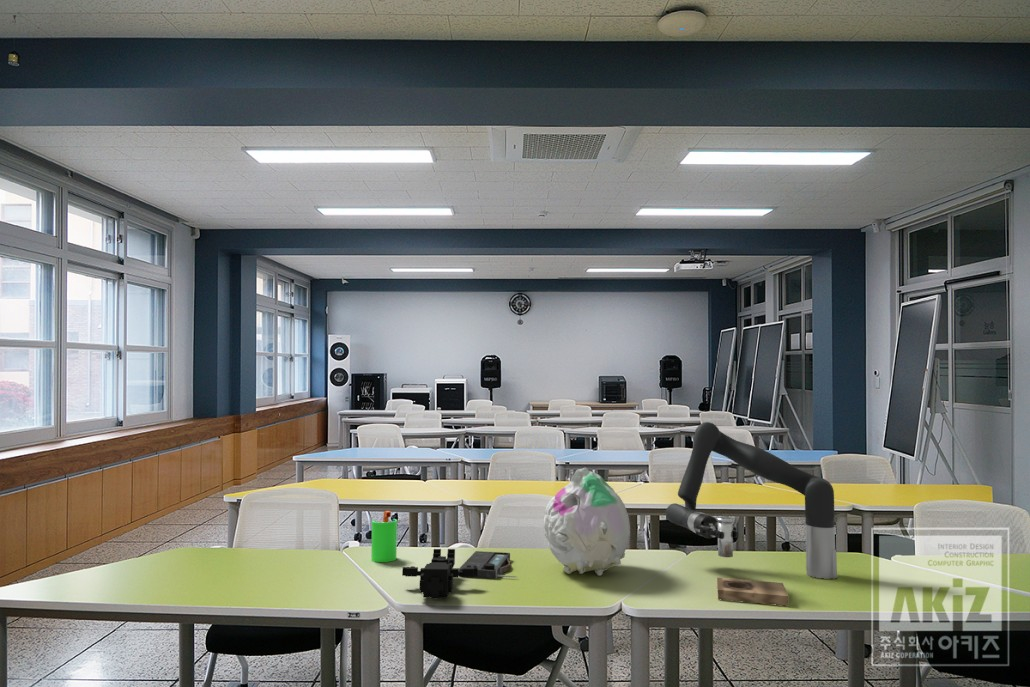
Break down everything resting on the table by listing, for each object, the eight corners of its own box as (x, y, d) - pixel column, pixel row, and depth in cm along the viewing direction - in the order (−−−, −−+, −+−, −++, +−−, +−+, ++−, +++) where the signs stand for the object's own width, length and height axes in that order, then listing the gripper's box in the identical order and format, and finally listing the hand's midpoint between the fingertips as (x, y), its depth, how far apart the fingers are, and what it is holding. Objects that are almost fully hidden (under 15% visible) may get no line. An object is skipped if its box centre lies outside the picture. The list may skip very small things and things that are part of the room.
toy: (479, 549, 226) (475, 566, 196) (479, 578, 225) (475, 599, 195) (409, 548, 226) (394, 565, 196) (408, 577, 224) (393, 599, 195)
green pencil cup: (389, 555, 251) (390, 507, 252) (401, 559, 245) (402, 510, 247) (368, 559, 245) (369, 510, 246) (379, 563, 239) (380, 513, 240)
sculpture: (546, 595, 220) (632, 577, 211) (517, 486, 226) (600, 465, 217) (572, 570, 251) (648, 554, 242) (546, 475, 257) (620, 456, 248)
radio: (475, 547, 249) (528, 550, 246) (475, 559, 249) (528, 562, 245) (458, 565, 224) (516, 568, 221) (458, 578, 224) (516, 581, 221)
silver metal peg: (733, 554, 216) (733, 516, 217) (734, 558, 211) (734, 520, 212) (716, 552, 217) (716, 515, 218) (716, 556, 212) (716, 519, 213)
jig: (783, 592, 210) (782, 582, 211) (788, 606, 197) (788, 596, 197) (717, 586, 216) (717, 577, 216) (718, 599, 202) (718, 589, 203)
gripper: (683, 514, 227) (709, 524, 210) (721, 512, 230) (749, 522, 214) (684, 536, 227) (709, 548, 210) (721, 534, 230) (750, 546, 213)
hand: (729, 535), depth 212 cm, fingers closed on silver metal peg, 4 cm apart
